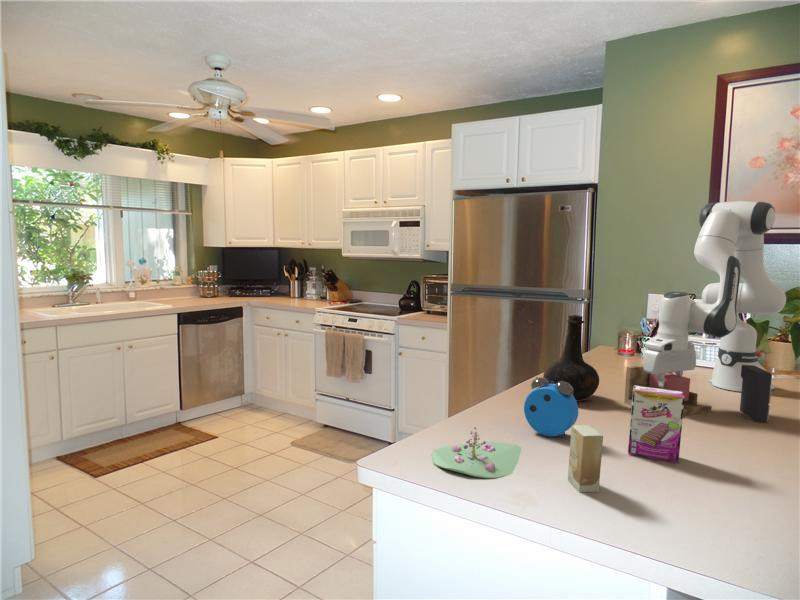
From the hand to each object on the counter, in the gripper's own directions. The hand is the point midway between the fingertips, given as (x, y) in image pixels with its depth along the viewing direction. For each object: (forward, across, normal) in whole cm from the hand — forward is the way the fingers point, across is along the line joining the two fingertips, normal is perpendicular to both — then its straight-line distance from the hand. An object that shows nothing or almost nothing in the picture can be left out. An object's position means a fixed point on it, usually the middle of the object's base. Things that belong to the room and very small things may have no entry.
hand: (668, 385), depth 164 cm
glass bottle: (+7, +23, -19) cm, 31 cm away
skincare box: (+7, +67, +33) cm, 75 cm away
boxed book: (+4, 0, 0) cm, 4 cm away
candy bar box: (+7, +39, +27) cm, 48 cm away
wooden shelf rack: (+7, 0, 0) cm, 7 cm away
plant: (+8, +79, +12) cm, 80 cm away
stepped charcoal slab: (+7, -16, +17) cm, 25 cm away
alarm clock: (+7, +53, +6) cm, 54 cm away
